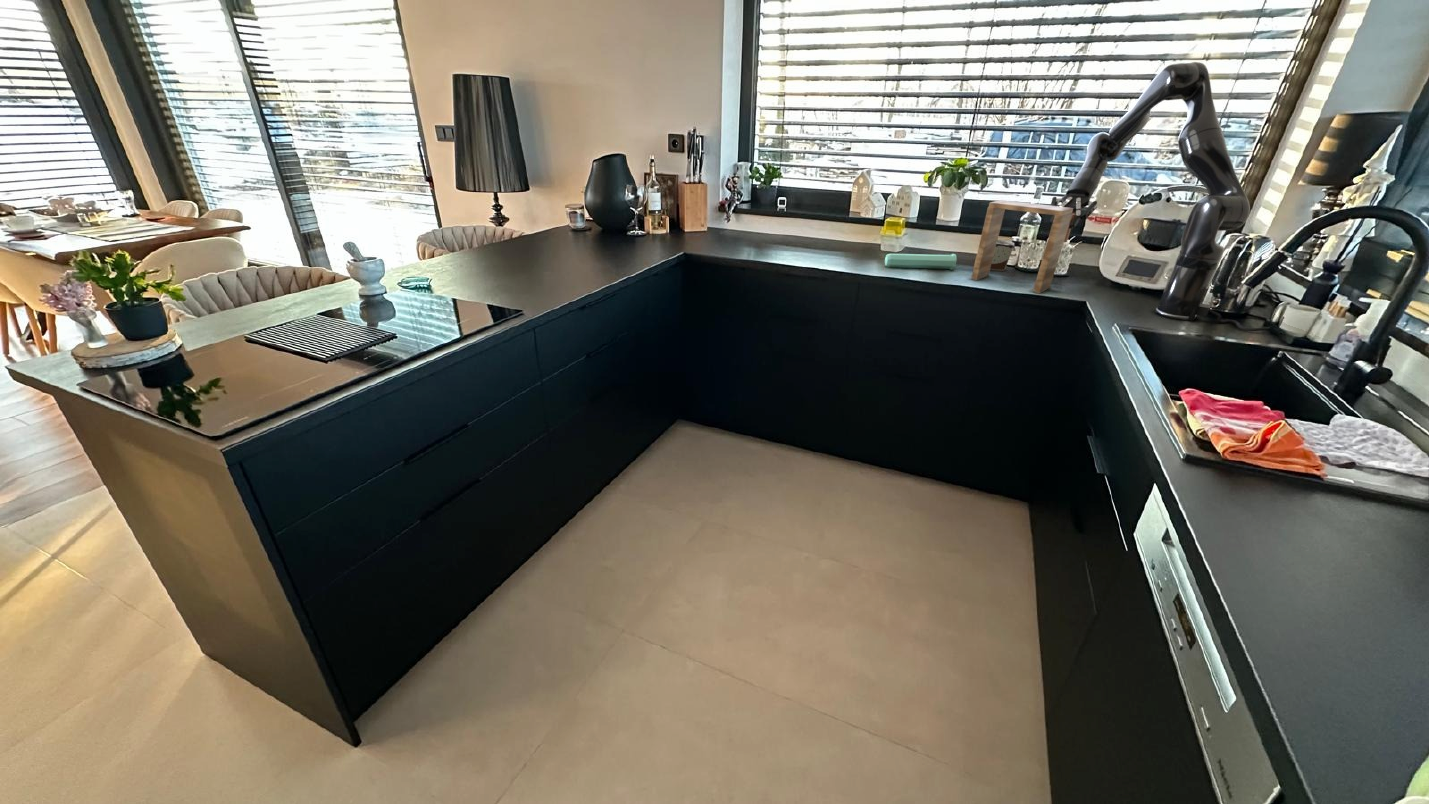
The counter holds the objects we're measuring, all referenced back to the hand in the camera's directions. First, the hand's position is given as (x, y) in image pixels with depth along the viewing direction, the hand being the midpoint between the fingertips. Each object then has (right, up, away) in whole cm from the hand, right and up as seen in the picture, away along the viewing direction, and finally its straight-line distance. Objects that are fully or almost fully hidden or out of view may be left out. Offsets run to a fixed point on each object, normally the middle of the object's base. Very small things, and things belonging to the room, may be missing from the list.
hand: (1061, 225), depth 186 cm
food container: (-13, -9, +23) cm, 28 cm away
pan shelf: (-15, -19, +4) cm, 24 cm away
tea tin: (+1, -4, +3) cm, 6 cm away
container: (-40, -9, +21) cm, 46 cm away
